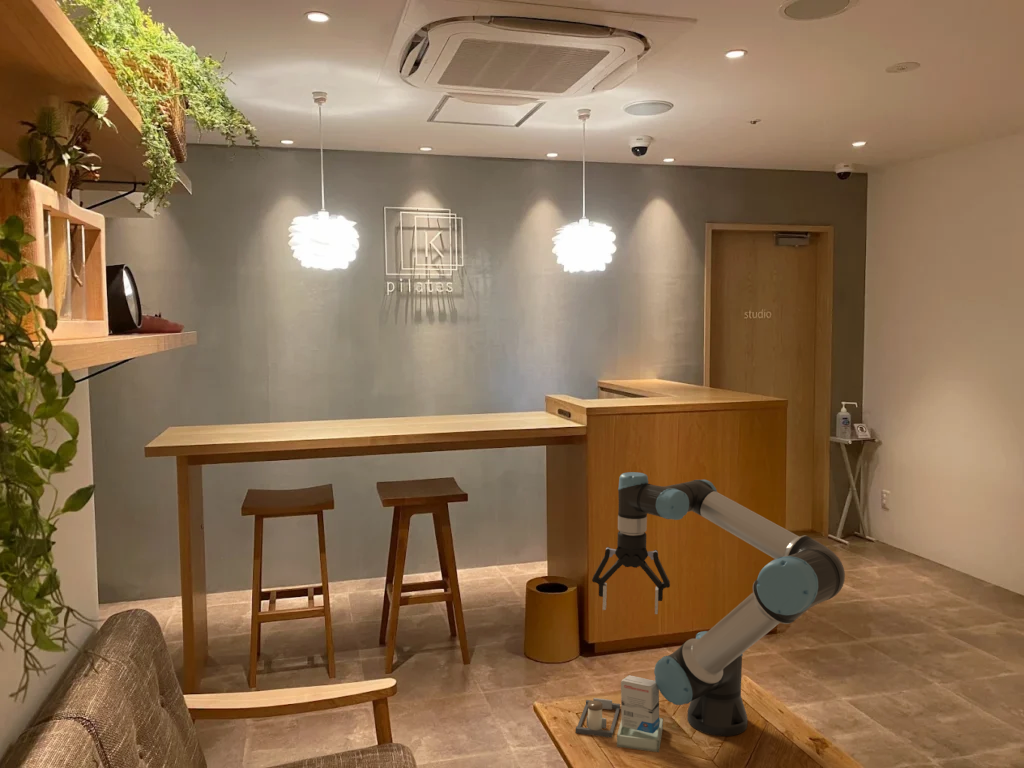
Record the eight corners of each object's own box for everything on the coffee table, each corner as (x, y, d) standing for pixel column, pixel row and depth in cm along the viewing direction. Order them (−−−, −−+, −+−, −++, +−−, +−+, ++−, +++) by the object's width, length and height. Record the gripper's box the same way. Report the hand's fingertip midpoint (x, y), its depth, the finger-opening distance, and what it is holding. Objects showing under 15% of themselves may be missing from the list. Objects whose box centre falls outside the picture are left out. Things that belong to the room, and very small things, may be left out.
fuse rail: (620, 708, 222) (620, 699, 222) (611, 737, 206) (611, 728, 206) (586, 704, 224) (586, 695, 224) (575, 732, 209) (575, 723, 208)
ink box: (660, 727, 206) (660, 680, 206) (652, 734, 202) (652, 687, 201) (628, 719, 210) (628, 673, 210) (620, 726, 206) (620, 680, 206)
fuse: (603, 728, 211) (603, 701, 210) (601, 736, 207) (601, 708, 206) (588, 727, 212) (588, 699, 211) (586, 734, 208) (586, 706, 207)
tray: (662, 728, 211) (662, 718, 211) (658, 752, 199) (659, 741, 199) (622, 723, 213) (623, 713, 213) (616, 746, 202) (616, 735, 202)
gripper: (680, 530, 217) (678, 609, 219) (586, 525, 222) (584, 601, 224) (680, 538, 210) (678, 619, 212) (583, 532, 215) (581, 611, 216)
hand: (630, 610), depth 218 cm, fingers open, 13 cm apart
